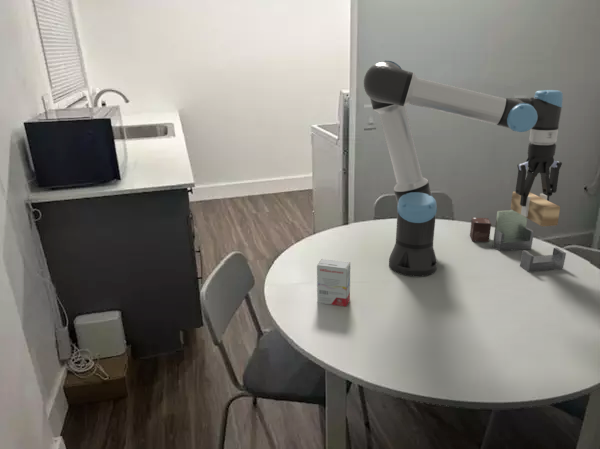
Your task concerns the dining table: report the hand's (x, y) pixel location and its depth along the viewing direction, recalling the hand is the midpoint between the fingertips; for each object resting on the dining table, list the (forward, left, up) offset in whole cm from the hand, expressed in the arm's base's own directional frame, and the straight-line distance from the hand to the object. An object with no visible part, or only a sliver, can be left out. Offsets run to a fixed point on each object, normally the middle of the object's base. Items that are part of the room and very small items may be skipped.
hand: (532, 214), depth 151 cm
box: (-6, +19, -16) cm, 26 cm away
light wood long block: (0, 0, -1) cm, 1 cm away
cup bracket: (+1, +9, -16) cm, 18 cm away
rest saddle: (+1, -7, -16) cm, 17 cm away
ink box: (-69, -16, -16) cm, 73 cm away
